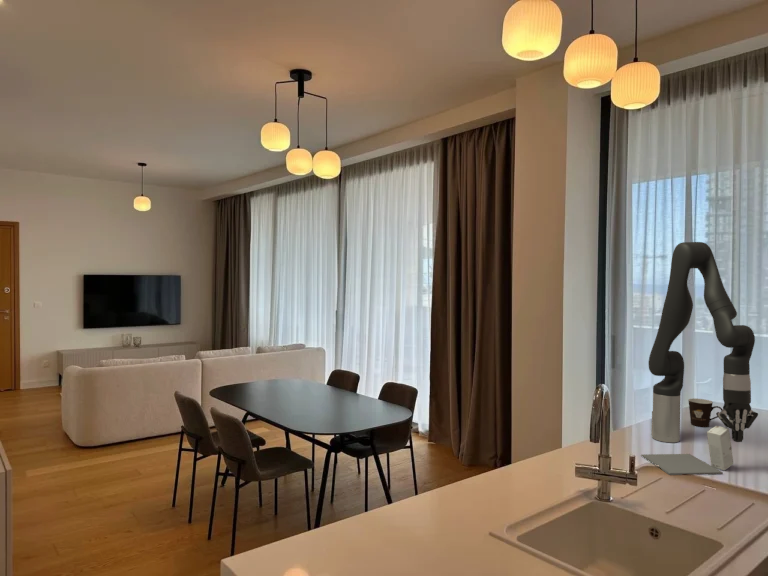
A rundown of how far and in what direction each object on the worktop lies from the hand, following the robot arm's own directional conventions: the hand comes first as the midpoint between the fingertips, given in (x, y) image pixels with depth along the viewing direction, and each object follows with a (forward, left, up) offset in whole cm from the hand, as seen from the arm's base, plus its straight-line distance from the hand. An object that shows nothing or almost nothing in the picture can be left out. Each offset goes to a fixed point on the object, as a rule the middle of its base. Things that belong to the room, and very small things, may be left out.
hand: (737, 441), depth 174 cm
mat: (-4, -16, -9) cm, 19 cm away
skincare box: (-1, -4, -8) cm, 9 cm away
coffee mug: (-46, +19, -9) cm, 51 cm away
